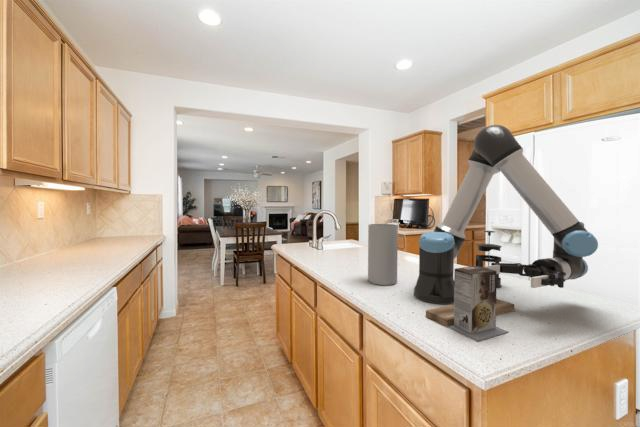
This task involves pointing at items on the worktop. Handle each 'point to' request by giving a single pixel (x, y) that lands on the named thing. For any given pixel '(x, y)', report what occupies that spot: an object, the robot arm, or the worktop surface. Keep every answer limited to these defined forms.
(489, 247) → the french press
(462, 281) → the coffee box
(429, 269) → the robot arm
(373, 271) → the cylinder vase
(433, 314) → the walnut board
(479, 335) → the end pad
